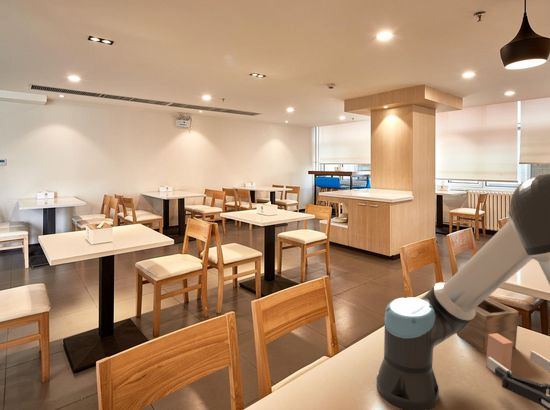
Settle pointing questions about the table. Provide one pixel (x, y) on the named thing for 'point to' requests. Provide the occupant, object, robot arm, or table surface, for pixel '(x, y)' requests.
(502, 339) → the tall salmon pillar block
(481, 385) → the table surface
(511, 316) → the tip box
